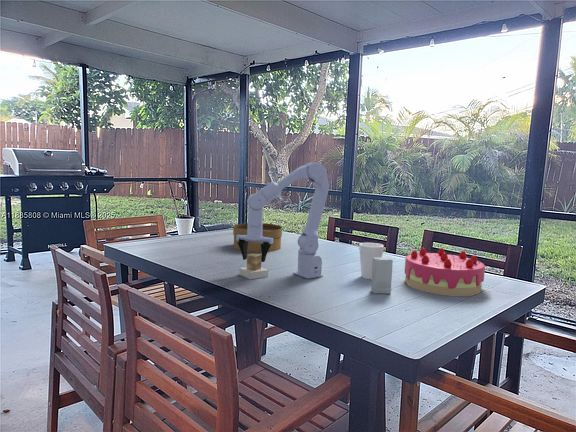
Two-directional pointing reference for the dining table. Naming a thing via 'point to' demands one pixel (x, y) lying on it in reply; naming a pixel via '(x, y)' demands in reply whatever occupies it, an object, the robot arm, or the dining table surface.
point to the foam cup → (369, 257)
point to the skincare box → (381, 275)
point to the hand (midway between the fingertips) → (254, 260)
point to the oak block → (254, 262)
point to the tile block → (253, 273)
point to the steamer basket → (267, 231)
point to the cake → (444, 273)
